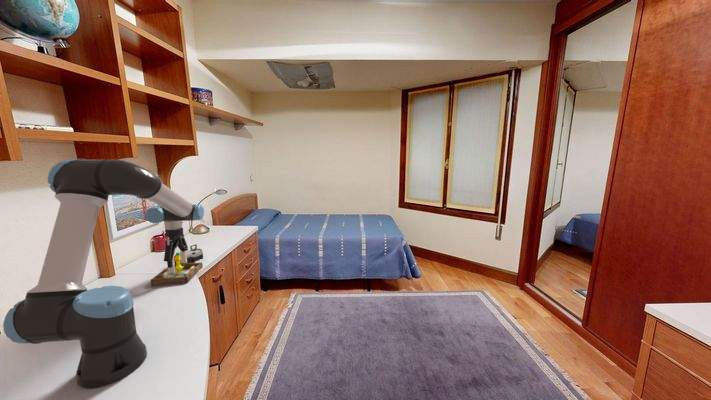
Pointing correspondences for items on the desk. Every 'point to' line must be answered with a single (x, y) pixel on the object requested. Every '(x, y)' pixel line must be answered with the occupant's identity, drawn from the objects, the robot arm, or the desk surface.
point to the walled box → (184, 277)
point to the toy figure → (178, 264)
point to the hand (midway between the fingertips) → (178, 267)
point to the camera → (193, 255)
